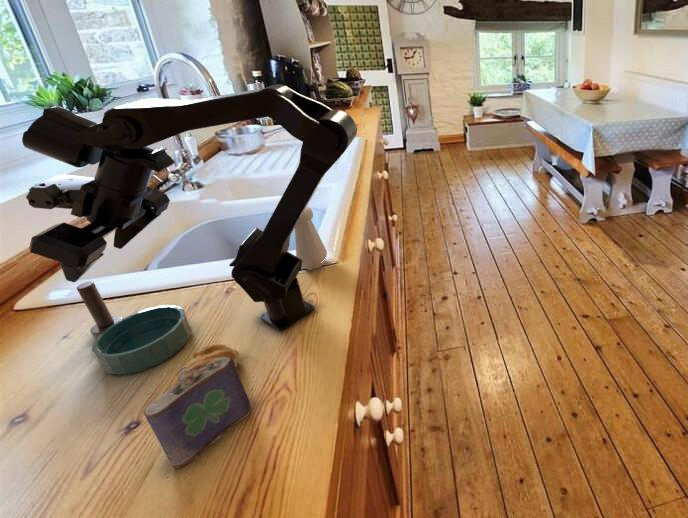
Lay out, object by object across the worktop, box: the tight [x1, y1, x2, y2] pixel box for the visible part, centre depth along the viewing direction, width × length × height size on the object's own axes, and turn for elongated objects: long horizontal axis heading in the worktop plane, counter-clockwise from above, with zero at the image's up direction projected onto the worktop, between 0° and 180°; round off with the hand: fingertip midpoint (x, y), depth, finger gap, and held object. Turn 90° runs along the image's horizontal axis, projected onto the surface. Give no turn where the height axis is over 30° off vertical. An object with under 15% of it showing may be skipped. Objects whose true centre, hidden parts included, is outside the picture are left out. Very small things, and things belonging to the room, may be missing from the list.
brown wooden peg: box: [75, 280, 123, 341], centre depth 67 cm, size 4×4×10 cm
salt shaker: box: [294, 206, 328, 271], centre depth 83 cm, size 6×6×13 cm
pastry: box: [183, 343, 239, 371], centre depth 57 cm, size 9×7×4 cm
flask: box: [143, 357, 253, 469], centre depth 49 cm, size 9×3×11 cm, turn 151°
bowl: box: [91, 304, 193, 375], centre depth 64 cm, size 11×11×4 cm
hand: (96, 263), depth 63 cm, fingers open, 9 cm apart
